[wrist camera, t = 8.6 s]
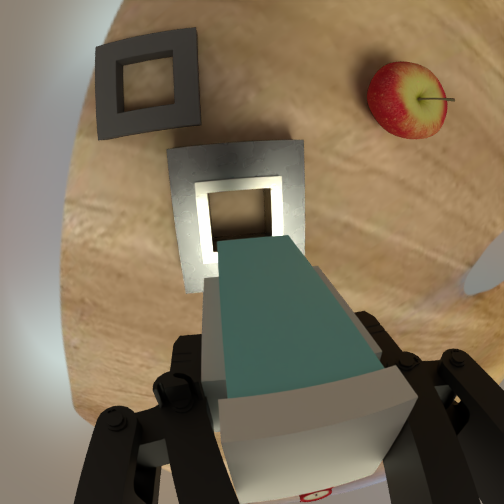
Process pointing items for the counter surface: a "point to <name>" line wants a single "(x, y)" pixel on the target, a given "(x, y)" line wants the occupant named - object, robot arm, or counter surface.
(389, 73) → the apple
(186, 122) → the dark grey square frame
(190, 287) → the port
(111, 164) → the counter surface
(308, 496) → the alarm clock
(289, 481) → the plug
